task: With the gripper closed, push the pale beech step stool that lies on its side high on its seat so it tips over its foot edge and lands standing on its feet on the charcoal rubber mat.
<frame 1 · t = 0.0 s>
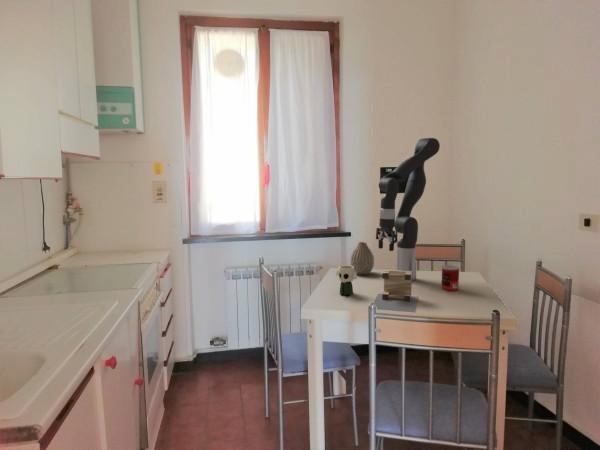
hand: (385, 249, 225), 17 cm above the table, tool pointing down, fingers open, 8 cm apart
canned food: (449, 289, 214), on the table
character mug: (346, 294, 207), on the table
vase: (362, 274, 247), on the table
mat: (395, 303, 192), on the table
stool: (396, 298, 198), resting on mat
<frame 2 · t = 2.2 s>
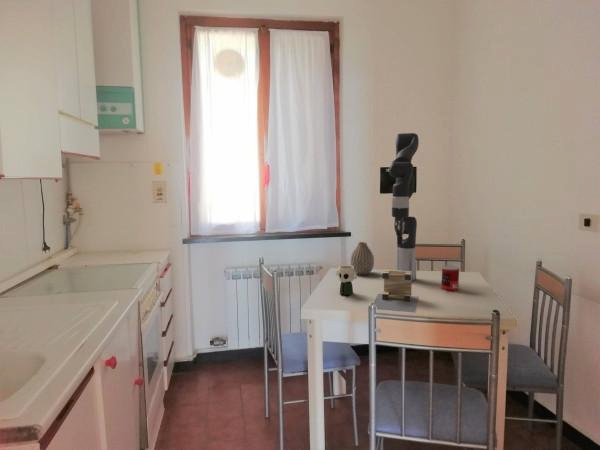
hand: (399, 244, 203), 24 cm above the table, tool pointing down, fingers closed
nothing on the table moved.
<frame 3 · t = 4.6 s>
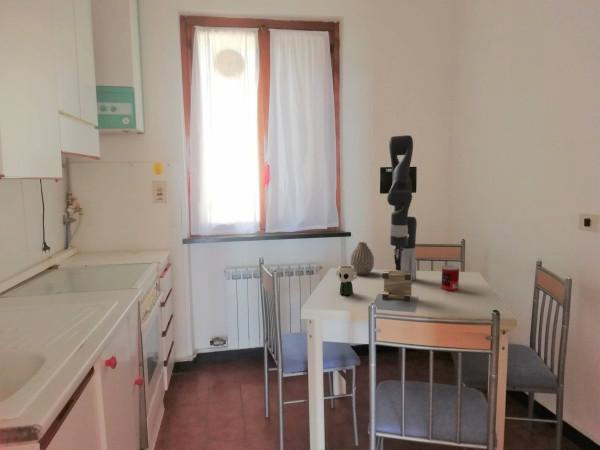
hand: (398, 272, 201), 11 cm above the table, tool pointing down, fingers closed
stool: (396, 298, 198), point 1 cm above the table, touching gripper, mat
everything else where it was.
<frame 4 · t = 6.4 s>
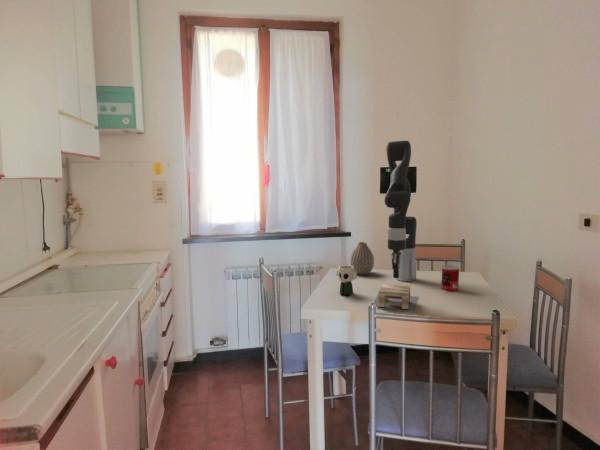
hand: (396, 277, 192), 11 cm above the table, tool pointing down, fingers closed
stool: (396, 292, 194), point 4 cm above the table, tilted 90°, touching mat
everything else where it was.
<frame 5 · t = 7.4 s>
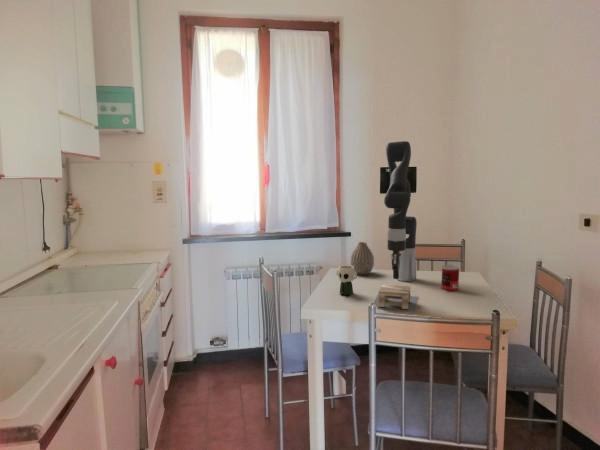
hand: (395, 278, 191), 11 cm above the table, tool pointing down, fingers closed
nothing on the table moved.
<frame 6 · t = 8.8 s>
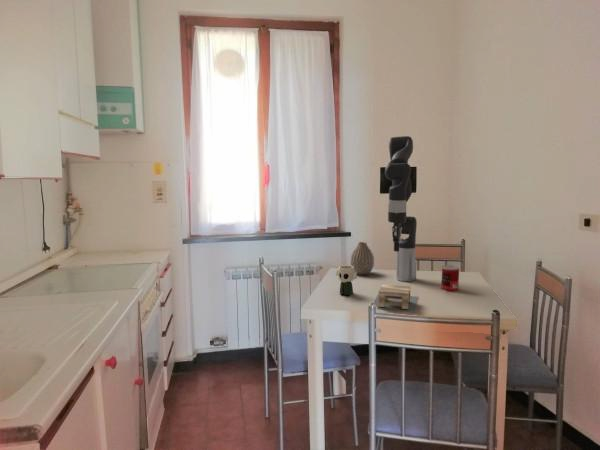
hand: (396, 251, 190), 23 cm above the table, tool pointing down, fingers closed
nothing on the table moved.
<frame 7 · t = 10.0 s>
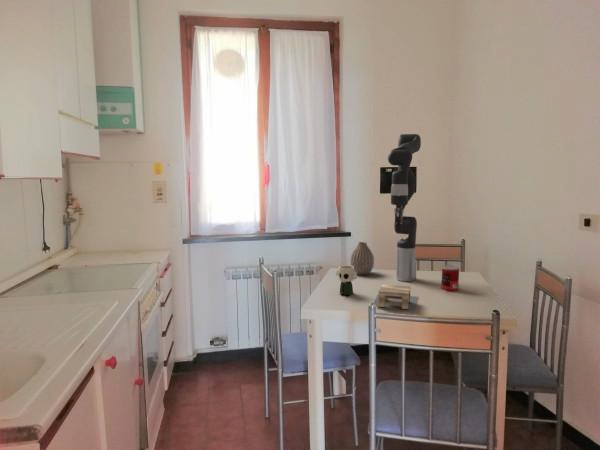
hand: (398, 231, 204), 29 cm above the table, tool pointing down, fingers closed
nothing on the table moved.
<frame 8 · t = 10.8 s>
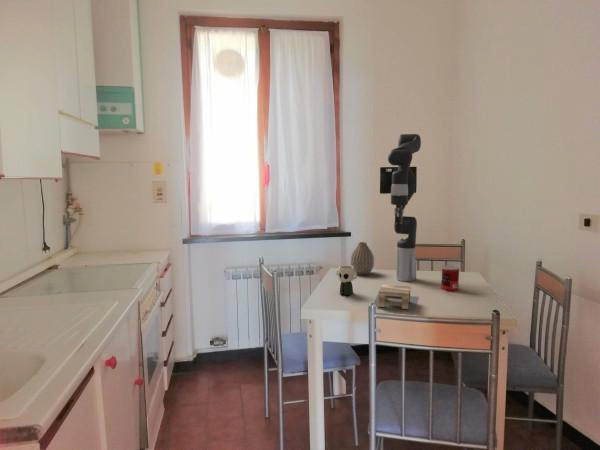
hand: (398, 231, 204), 29 cm above the table, tool pointing down, fingers closed
nothing on the table moved.
at the end: stool tilted 90°; stool inside the target area (0.7 cm from its centre), point 4.0 cm above the table; the gripper is holding nothing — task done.
